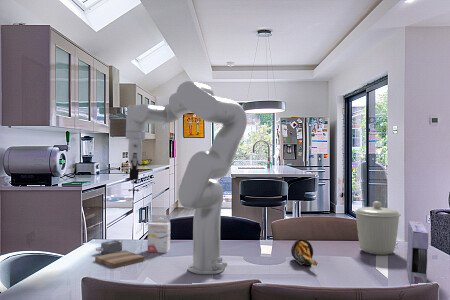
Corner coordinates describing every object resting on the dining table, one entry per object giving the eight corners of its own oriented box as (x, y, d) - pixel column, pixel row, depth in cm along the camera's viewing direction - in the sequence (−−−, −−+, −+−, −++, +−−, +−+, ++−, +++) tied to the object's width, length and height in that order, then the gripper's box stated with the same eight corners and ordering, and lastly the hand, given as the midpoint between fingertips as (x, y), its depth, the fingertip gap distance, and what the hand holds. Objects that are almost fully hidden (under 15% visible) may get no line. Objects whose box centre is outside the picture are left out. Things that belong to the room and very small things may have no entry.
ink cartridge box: (147, 252, 158) (147, 216, 158) (150, 249, 163) (150, 214, 163) (167, 253, 158) (167, 216, 158) (170, 250, 162) (170, 214, 163)
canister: (410, 255, 156) (411, 203, 156) (375, 259, 150) (375, 205, 150) (377, 245, 173) (378, 198, 173) (344, 248, 166) (345, 199, 167)
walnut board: (144, 260, 146) (144, 256, 146) (114, 268, 137) (114, 263, 137) (125, 254, 155) (125, 250, 155) (95, 260, 145) (95, 256, 145)
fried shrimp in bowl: (306, 244, 154) (334, 239, 138) (302, 272, 149) (330, 270, 133) (286, 237, 152) (312, 230, 136) (281, 265, 147) (307, 262, 131)
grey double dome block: (124, 250, 161) (124, 241, 161) (99, 255, 153) (99, 245, 153) (118, 249, 164) (118, 239, 164) (94, 253, 156) (94, 243, 156)
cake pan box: (428, 291, 116) (428, 231, 116) (410, 288, 118) (410, 230, 118) (422, 272, 134) (422, 221, 134) (406, 270, 136) (406, 220, 136)
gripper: (146, 136, 149) (144, 180, 149) (143, 136, 165) (142, 176, 166) (125, 135, 147) (124, 180, 147) (125, 135, 164) (124, 176, 164)
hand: (133, 178), depth 157 cm, fingers open, 9 cm apart
